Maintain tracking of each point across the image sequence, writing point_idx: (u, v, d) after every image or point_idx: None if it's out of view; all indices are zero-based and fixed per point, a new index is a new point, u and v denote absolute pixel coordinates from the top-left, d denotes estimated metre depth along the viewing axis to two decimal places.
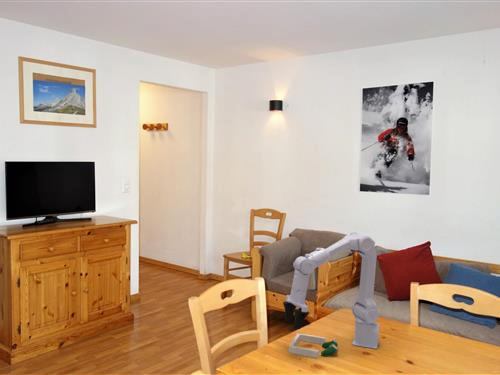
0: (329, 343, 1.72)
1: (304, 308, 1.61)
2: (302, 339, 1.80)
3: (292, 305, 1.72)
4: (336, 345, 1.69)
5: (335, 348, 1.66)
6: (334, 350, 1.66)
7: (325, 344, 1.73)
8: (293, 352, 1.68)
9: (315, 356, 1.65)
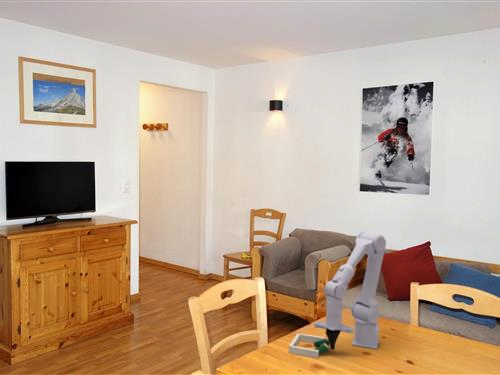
0: (321, 342, 1.73)
1: (352, 330, 1.66)
2: (302, 339, 1.80)
3: None
4: (328, 344, 1.70)
5: (326, 347, 1.67)
6: (325, 349, 1.67)
7: (317, 343, 1.74)
8: (293, 352, 1.68)
9: (315, 356, 1.65)
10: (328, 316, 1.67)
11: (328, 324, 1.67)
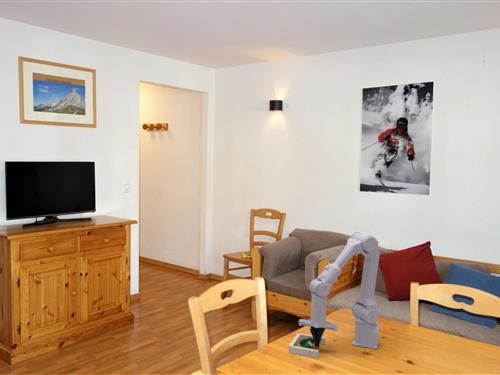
0: (306, 340, 1.75)
1: (337, 327, 1.68)
2: None
3: (317, 329, 1.72)
4: (312, 342, 1.71)
5: (310, 345, 1.68)
6: (309, 347, 1.68)
7: (302, 341, 1.76)
8: (293, 352, 1.68)
9: (315, 356, 1.65)
10: (313, 314, 1.69)
11: (313, 322, 1.69)
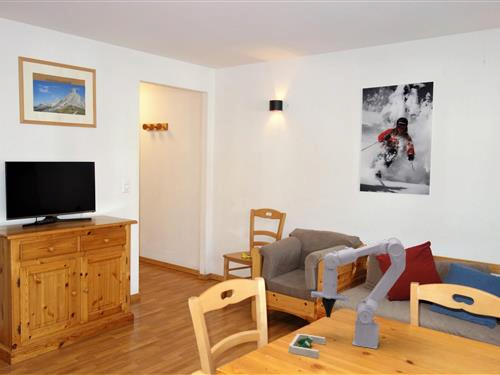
0: (304, 340, 1.75)
1: (347, 298, 1.78)
2: None
3: (328, 300, 1.82)
4: (310, 342, 1.71)
5: (307, 345, 1.69)
6: (306, 346, 1.68)
7: (301, 341, 1.76)
8: (293, 352, 1.68)
9: (315, 356, 1.65)
10: (324, 285, 1.80)
11: (324, 293, 1.80)
